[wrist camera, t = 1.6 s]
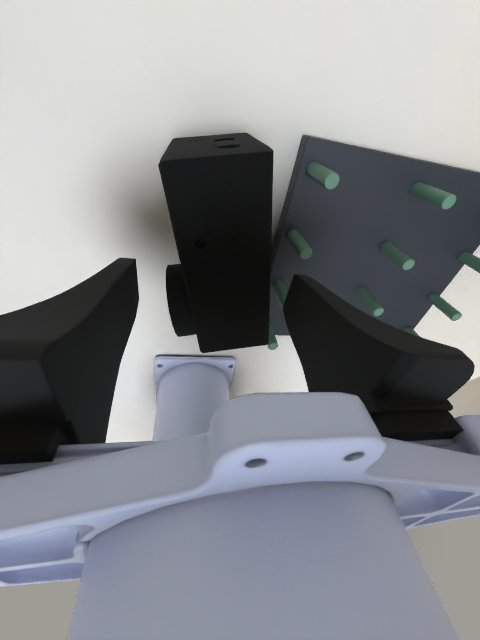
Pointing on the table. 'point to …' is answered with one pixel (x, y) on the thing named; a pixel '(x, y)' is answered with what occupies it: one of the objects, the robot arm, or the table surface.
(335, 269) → the rack
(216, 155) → the digital camera
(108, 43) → the table surface
